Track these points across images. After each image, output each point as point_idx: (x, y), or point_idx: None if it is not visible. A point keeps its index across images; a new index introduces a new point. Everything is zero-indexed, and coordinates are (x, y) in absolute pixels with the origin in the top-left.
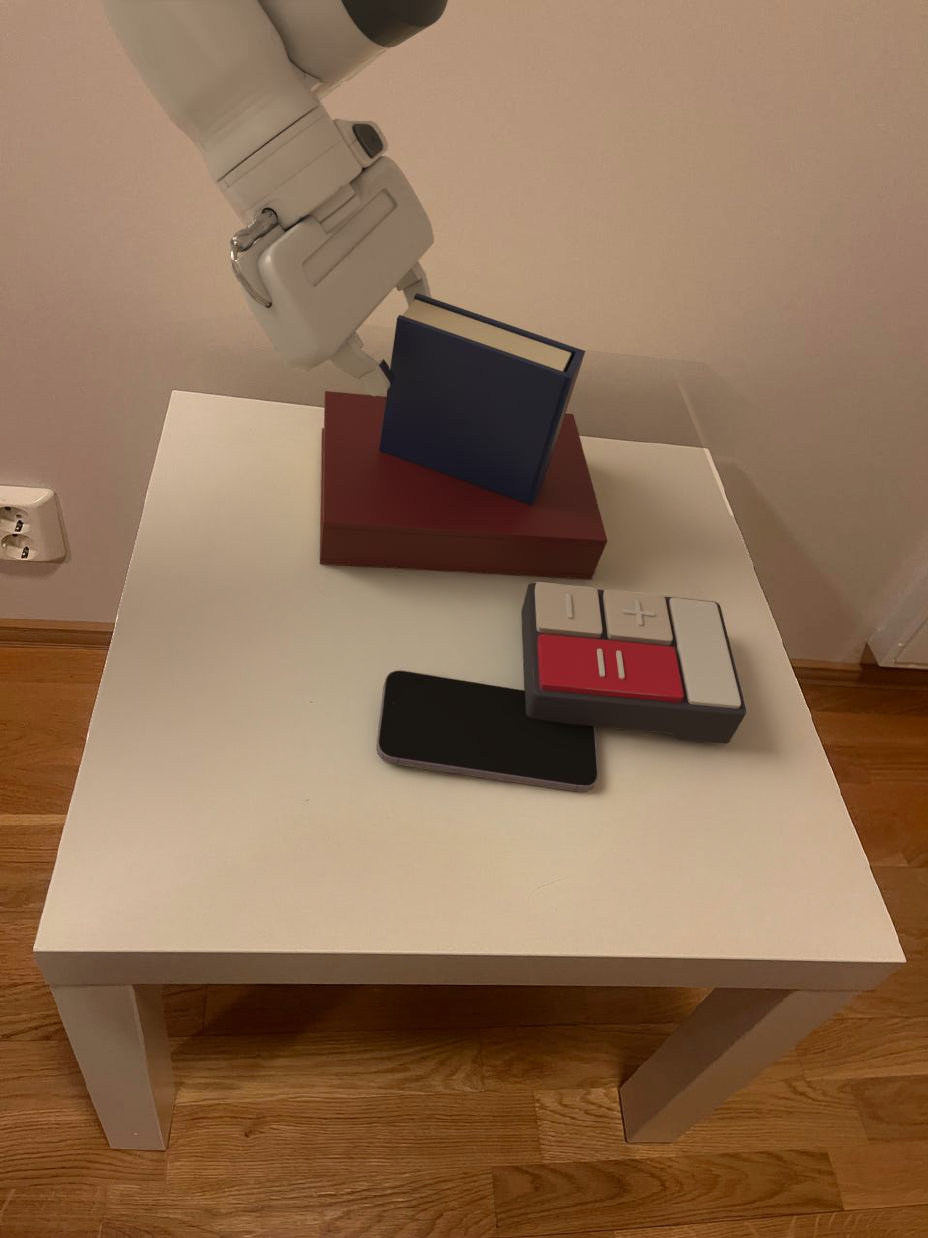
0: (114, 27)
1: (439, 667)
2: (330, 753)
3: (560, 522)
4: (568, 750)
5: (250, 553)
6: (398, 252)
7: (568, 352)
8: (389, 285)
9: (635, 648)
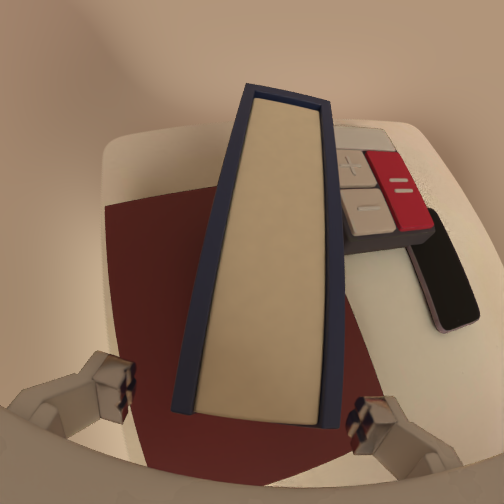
0: None
1: (412, 305)
2: (479, 347)
3: None
4: None
5: (372, 483)
6: (66, 495)
7: (257, 99)
8: (250, 494)
9: (380, 170)
